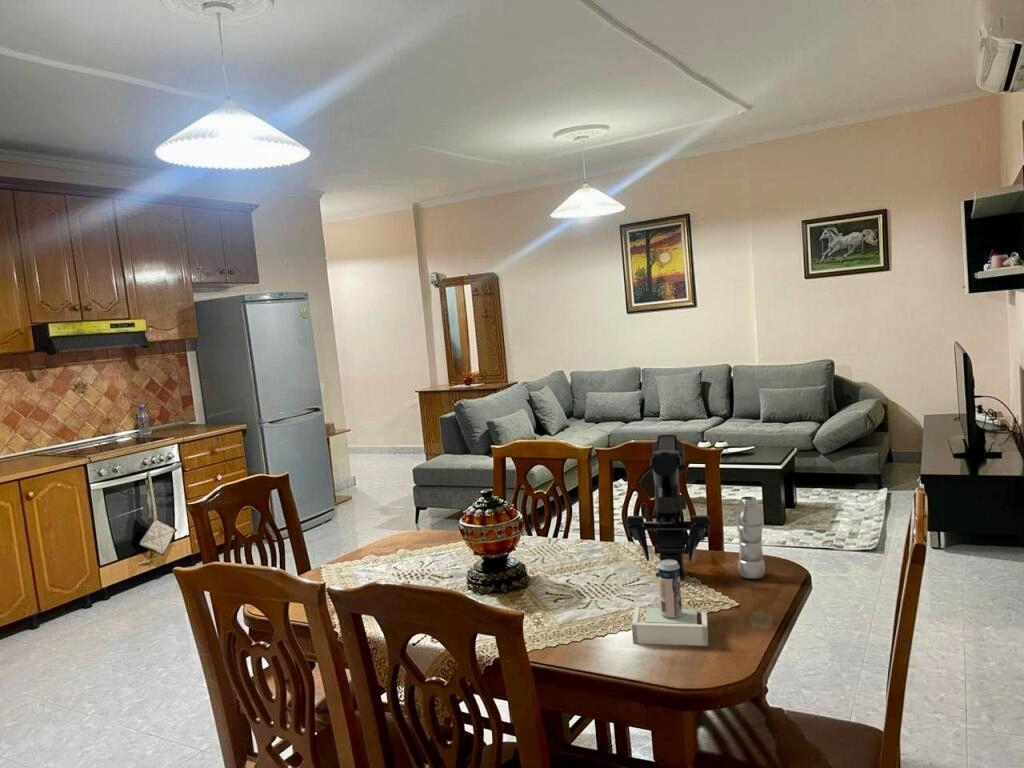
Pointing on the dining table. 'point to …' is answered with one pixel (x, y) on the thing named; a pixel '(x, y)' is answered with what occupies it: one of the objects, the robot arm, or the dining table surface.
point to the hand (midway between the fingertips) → (668, 560)
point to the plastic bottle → (750, 539)
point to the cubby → (669, 632)
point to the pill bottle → (669, 588)
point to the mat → (686, 618)
